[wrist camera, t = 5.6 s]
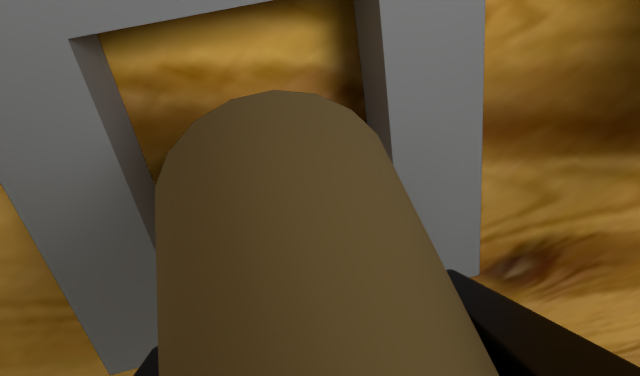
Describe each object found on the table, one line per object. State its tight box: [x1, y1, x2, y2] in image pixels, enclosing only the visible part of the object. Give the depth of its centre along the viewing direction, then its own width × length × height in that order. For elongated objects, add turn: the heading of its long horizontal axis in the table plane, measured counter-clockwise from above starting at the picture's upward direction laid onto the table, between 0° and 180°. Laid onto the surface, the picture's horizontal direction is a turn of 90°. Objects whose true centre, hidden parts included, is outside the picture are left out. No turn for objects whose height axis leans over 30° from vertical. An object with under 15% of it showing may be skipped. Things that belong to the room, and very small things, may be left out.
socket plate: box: [0, 0, 485, 375], centre depth 16 cm, size 16×16×3 cm
